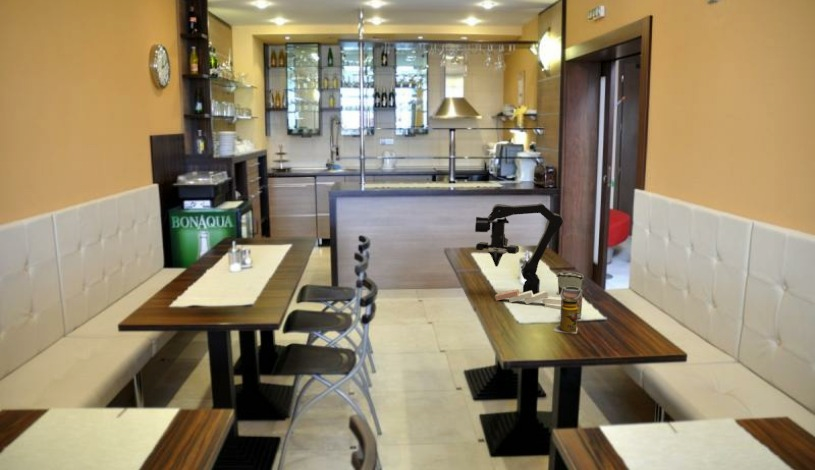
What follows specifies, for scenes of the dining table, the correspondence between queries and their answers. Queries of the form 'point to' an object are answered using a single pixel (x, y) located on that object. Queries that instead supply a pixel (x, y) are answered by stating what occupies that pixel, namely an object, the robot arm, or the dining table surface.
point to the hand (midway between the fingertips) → (496, 266)
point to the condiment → (568, 317)
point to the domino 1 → (507, 294)
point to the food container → (569, 280)
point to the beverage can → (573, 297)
